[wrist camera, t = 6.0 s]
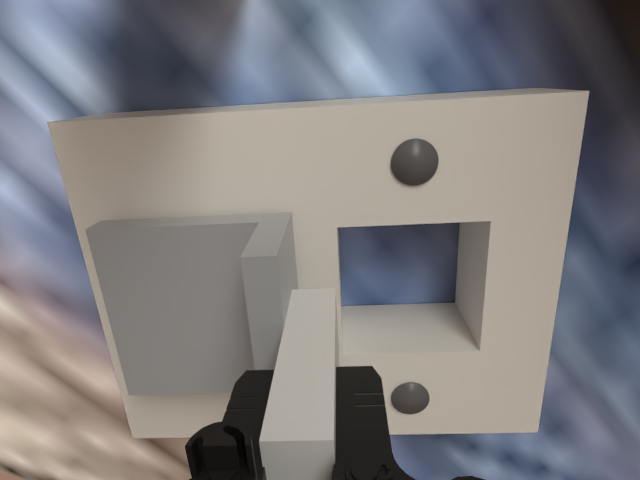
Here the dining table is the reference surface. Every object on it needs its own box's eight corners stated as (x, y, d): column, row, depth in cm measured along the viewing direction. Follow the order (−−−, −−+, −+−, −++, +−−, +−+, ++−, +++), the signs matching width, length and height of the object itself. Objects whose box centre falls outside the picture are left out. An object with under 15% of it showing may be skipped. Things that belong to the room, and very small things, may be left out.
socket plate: (536, 87, 18) (591, 91, 14) (504, 373, 23) (538, 434, 19) (105, 113, 19) (45, 122, 15) (165, 380, 24) (131, 439, 20)
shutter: (291, 212, 15) (276, 256, 12) (305, 375, 18) (296, 454, 14) (100, 220, 16) (26, 265, 12) (139, 379, 18) (88, 457, 14)
